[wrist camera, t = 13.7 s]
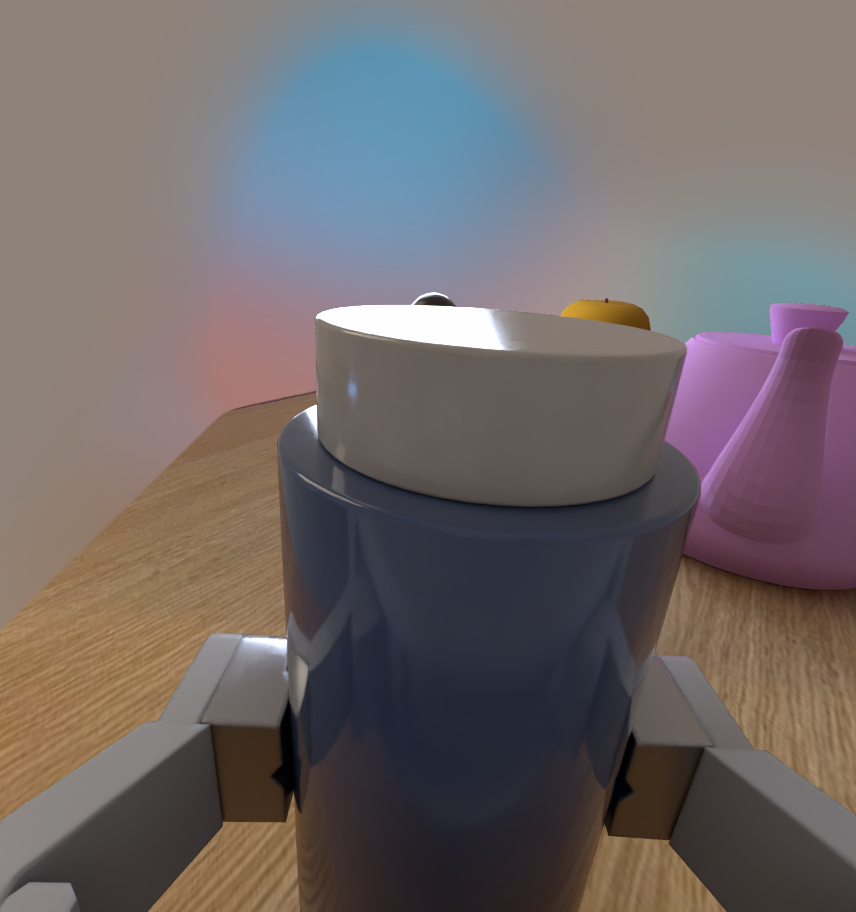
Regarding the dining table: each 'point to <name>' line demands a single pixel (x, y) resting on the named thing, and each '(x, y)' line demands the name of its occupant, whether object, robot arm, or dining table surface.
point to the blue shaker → (472, 598)
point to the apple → (609, 313)
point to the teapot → (773, 449)
